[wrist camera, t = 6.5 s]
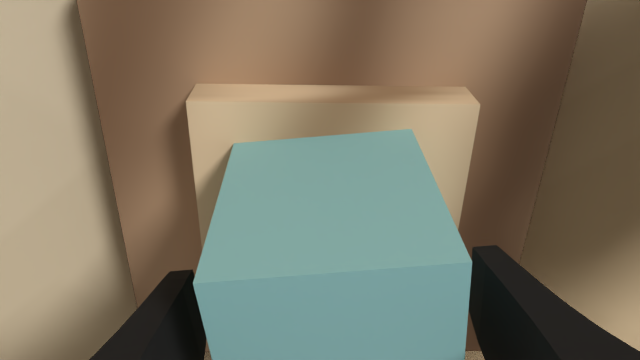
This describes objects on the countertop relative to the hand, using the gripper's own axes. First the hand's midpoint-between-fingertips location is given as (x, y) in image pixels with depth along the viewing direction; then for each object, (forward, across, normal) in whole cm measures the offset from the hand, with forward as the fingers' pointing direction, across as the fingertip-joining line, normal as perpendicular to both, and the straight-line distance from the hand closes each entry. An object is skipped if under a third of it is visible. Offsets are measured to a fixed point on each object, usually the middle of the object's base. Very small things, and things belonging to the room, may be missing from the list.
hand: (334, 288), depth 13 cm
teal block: (+3, 0, 0) cm, 3 cm away
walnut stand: (+6, 0, 0) cm, 6 cm away
